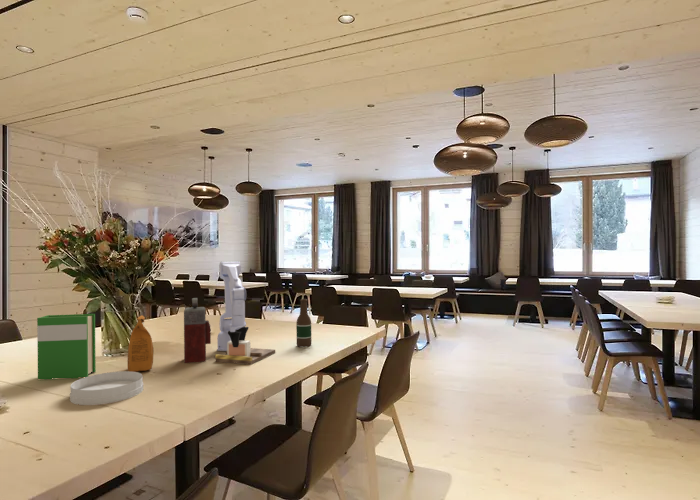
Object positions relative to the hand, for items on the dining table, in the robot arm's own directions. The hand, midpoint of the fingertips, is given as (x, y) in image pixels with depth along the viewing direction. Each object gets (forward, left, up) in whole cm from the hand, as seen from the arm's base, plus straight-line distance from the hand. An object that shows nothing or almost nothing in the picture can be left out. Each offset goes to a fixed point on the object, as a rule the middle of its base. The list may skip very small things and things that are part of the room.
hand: (238, 345), depth 190 cm
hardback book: (-53, -40, -7) cm, 66 cm away
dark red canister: (-19, -4, -7) cm, 21 cm away
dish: (-19, -52, -7) cm, 55 cm away
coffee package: (-32, -24, -7) cm, 40 cm away
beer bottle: (+16, +35, -7) cm, 40 cm away
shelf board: (0, +6, -7) cm, 9 cm away
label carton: (0, 0, -5) cm, 5 cm away
